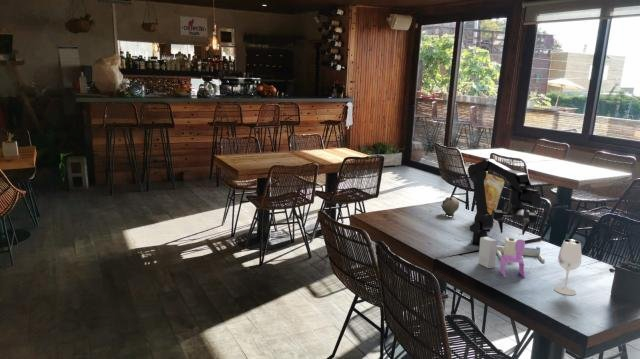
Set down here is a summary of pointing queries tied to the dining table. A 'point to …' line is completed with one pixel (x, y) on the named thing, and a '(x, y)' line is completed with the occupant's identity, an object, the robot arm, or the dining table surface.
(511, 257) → the toy chair
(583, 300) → the dining table surface
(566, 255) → the wineglass
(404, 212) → the dining table surface
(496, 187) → the pancake mix bag
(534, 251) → the white post rack
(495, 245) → the skincare box
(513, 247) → the cream rectangular block
